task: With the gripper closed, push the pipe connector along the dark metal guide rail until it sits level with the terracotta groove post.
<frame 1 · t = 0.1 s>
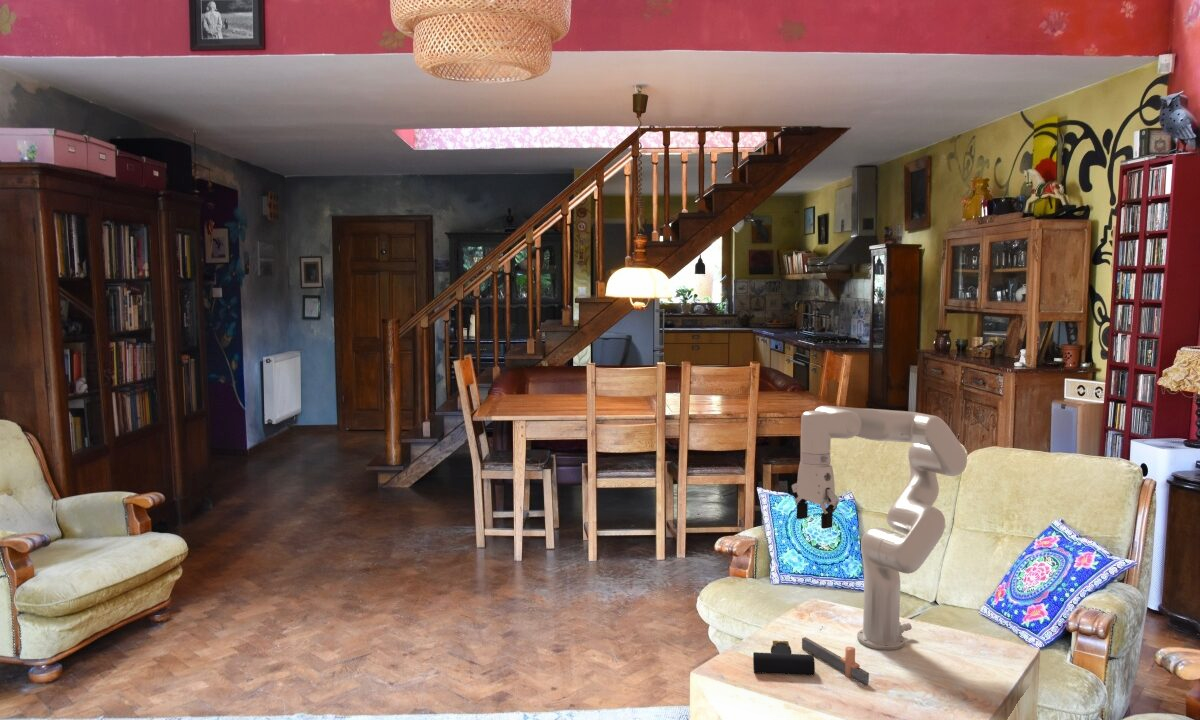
hand: (814, 523, 223), 37 cm above the table, tool pointing down, fingers open, 9 cm apart
guide rail: (833, 665, 222), on the table
pipe connector: (782, 668, 221), on the table
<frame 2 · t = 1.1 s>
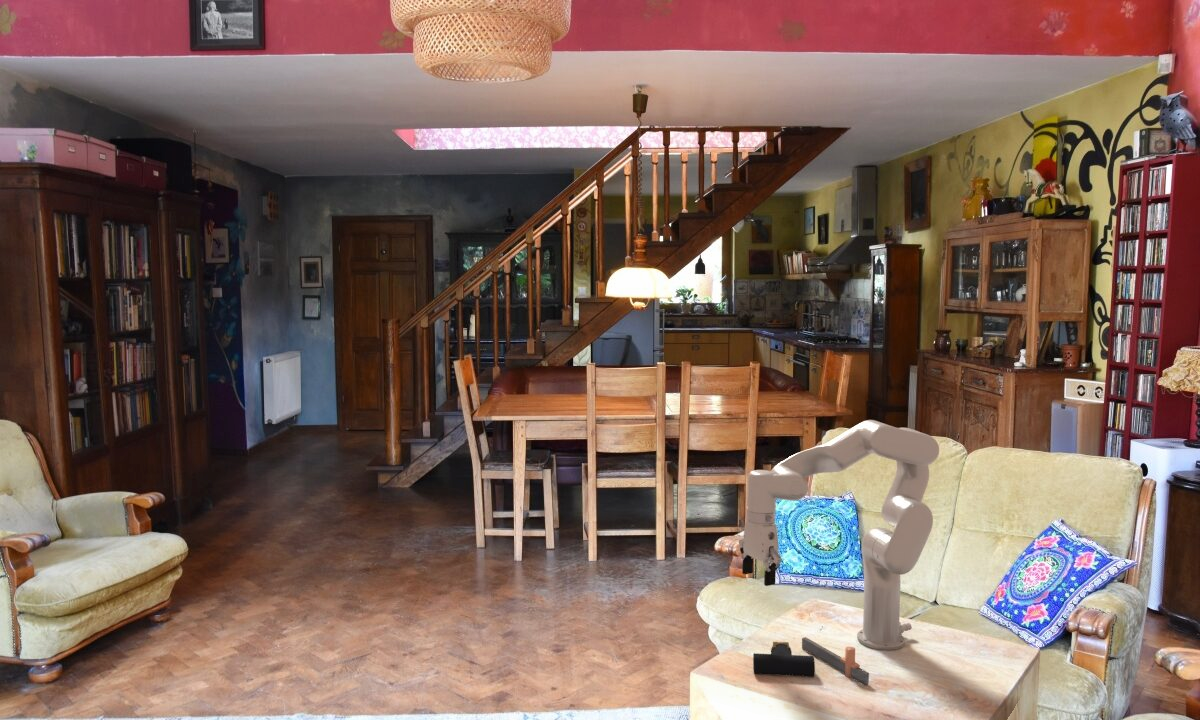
hand: (758, 579, 229), 20 cm above the table, tool pointing down, fingers open, 9 cm apart
nothing on the table moved.
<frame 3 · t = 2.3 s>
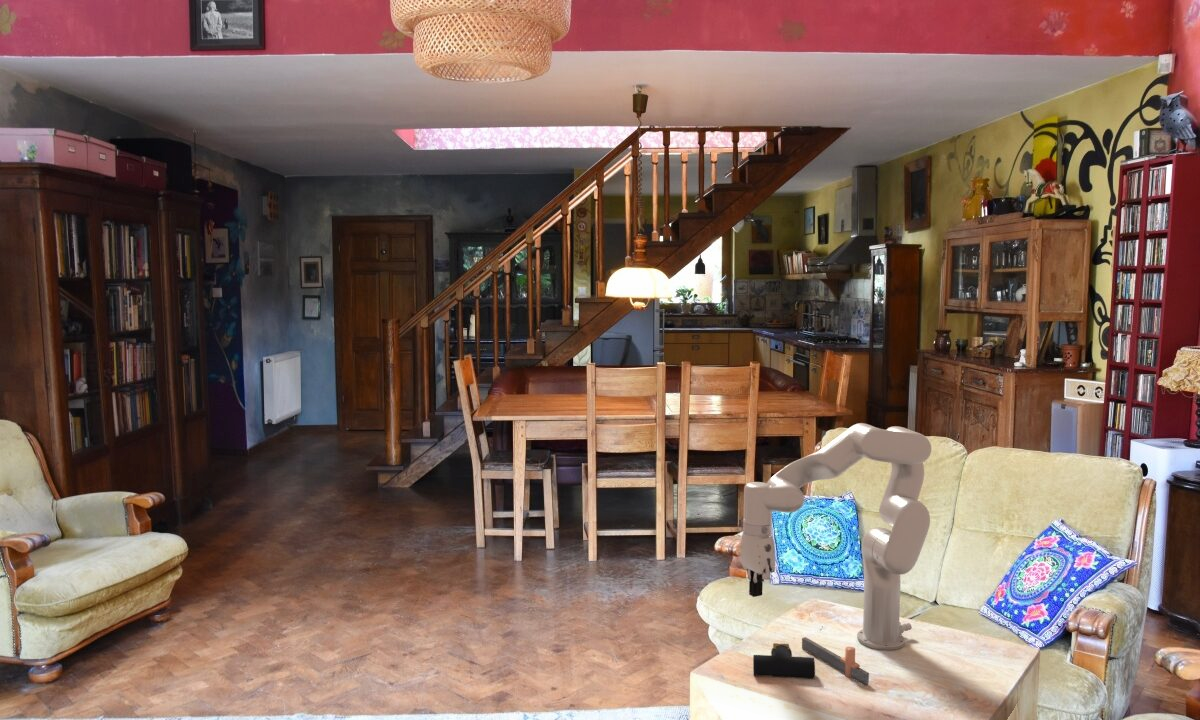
hand: (755, 595, 230), 15 cm above the table, tool pointing down, fingers closed
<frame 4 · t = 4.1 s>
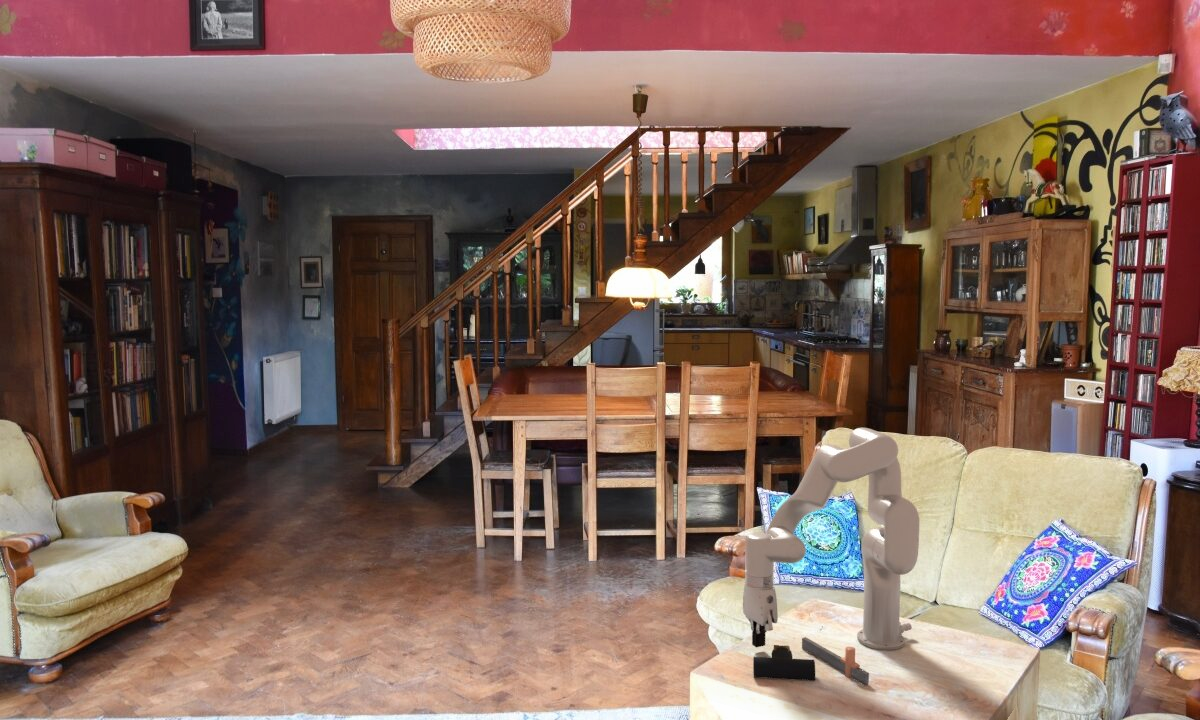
hand: (758, 645, 231), 2 cm above the table, tool pointing down, fingers closed
pipe connector: (782, 673, 219), on the table
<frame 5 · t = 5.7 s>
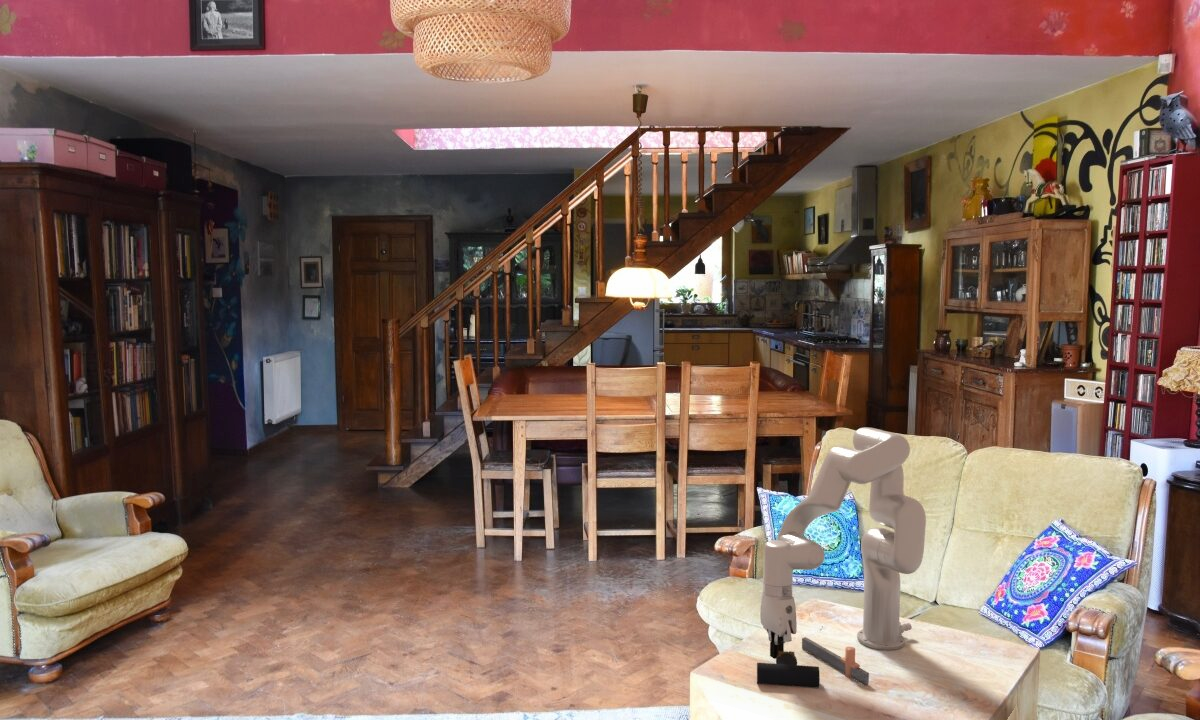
hand: (776, 656, 223), 2 cm above the table, tool pointing down, fingers closed
pipe connector: (787, 679, 215), on the table
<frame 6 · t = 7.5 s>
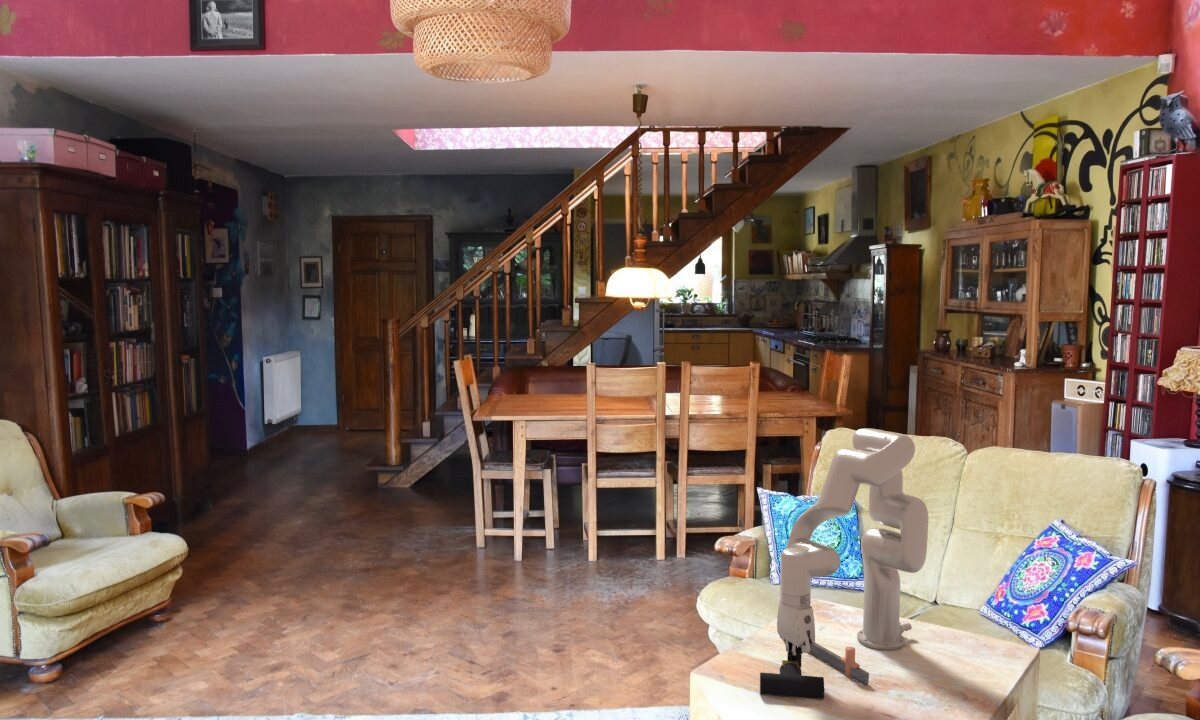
hand: (794, 667, 217), 2 cm above the table, tool pointing down, fingers closed
pipe connector: (790, 690, 210), on the table
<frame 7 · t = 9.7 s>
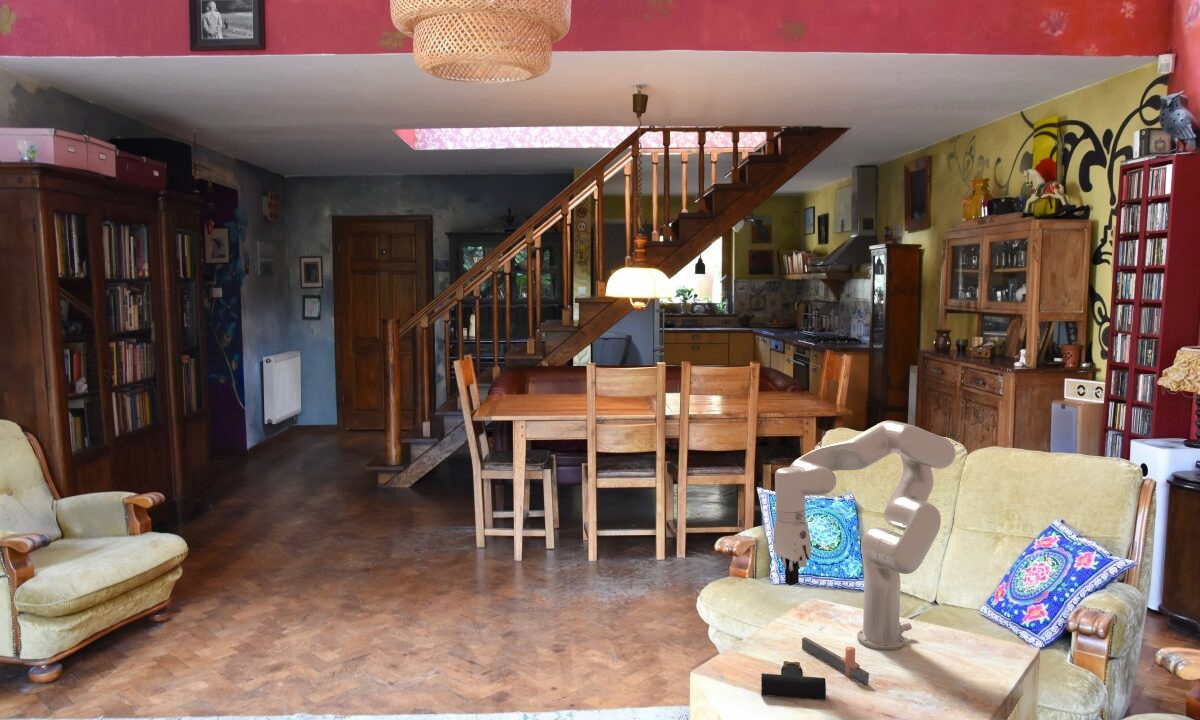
hand: (792, 583, 224), 21 cm above the table, tool pointing down, fingers closed
nothing on the table moved.
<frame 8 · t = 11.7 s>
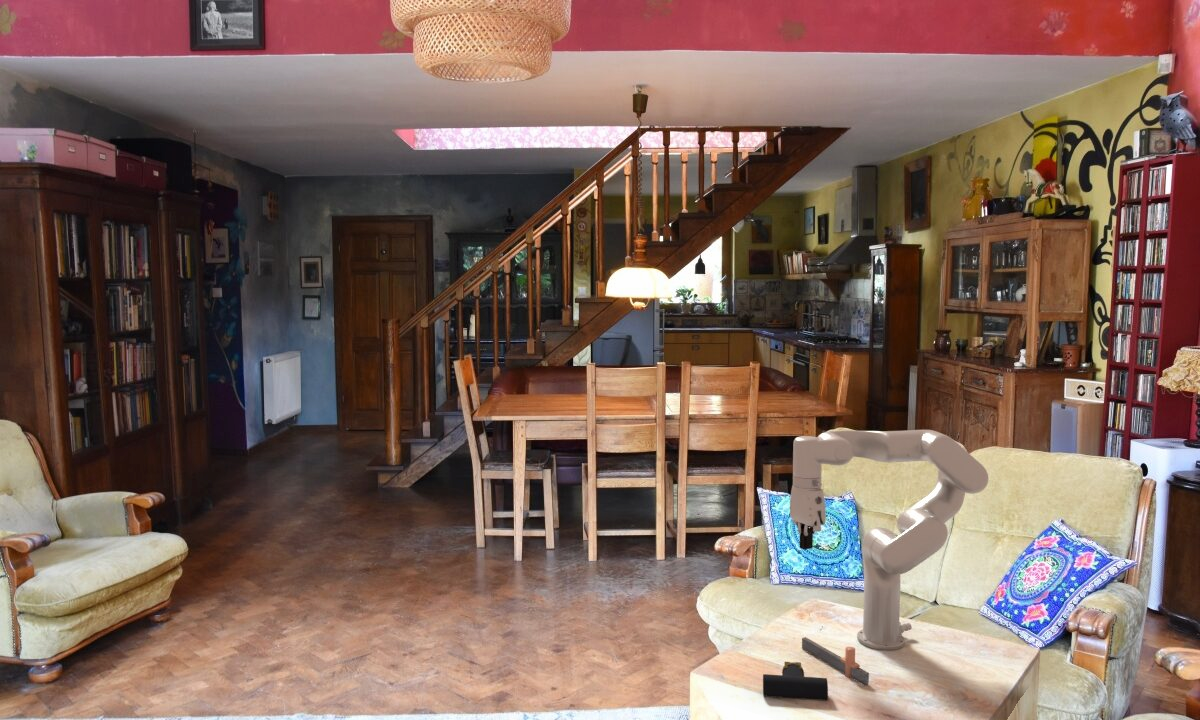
hand: (806, 548, 232), 27 cm above the table, tool pointing down, fingers closed
nothing on the table moved.
at the end: pipe connector inside the target area (5.6 cm from its centre), on the table; pipe connector moved 12.9 cm from its start; the gripper is holding nothing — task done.
